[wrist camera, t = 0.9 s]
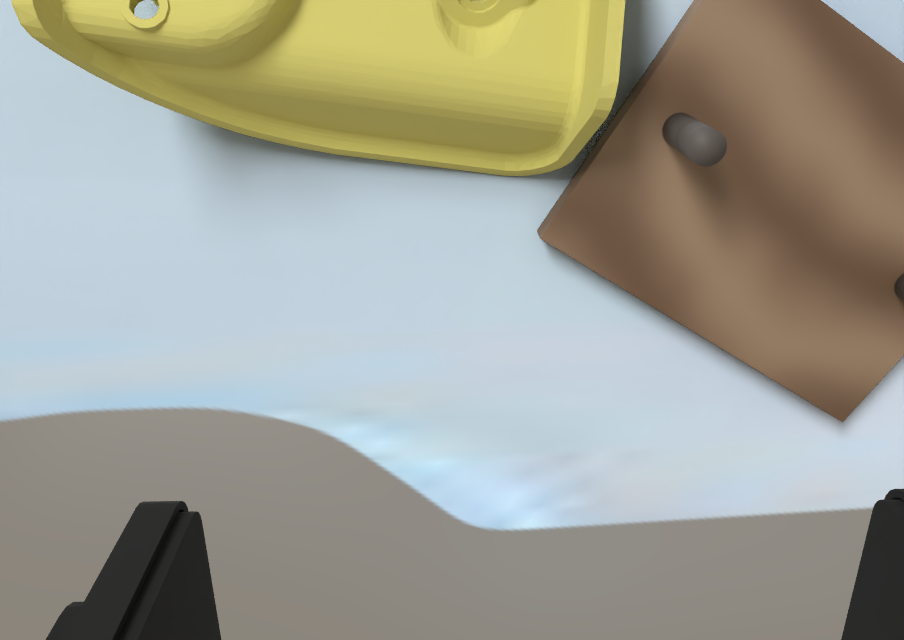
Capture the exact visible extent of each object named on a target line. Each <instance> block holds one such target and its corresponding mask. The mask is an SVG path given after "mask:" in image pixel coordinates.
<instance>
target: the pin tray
mask: <svg viewBox="0 0 904 640" xmlns="http://www.w3.org/2000/svg"><path fill="white" fill-rule="evenodd" d="M537 232H538V234H539V237H540V239H542V240H544V241H545V242H547V243H549V244H550V245H552V246H554V247H555V248H557V249H559V250H560V251H562V252H563V253H565V254H567V255H568V256H570V257H572V258H573V259H575V260H577V261H578V262H580V263H582V264H583V265H585V266H587V267H588V268H590V269H591V270H593V271H595V272H596V273H598V274H600V275H601V276H603V277H605V278H606V279H608V280H610V281H611V282H613V283H614V284H616V285H618V286H619V287H621V288H623V289H624V290H626V291H628V292H629V293H631V294H633V295H634V296H636V297H638V298H639V299H641V300H642V301H644V302H646V303H647V304H649V305H651V306H652V307H654V308H656V309H657V310H659V311H661V312H662V313H664V314H666V315H667V316H669V317H670V318H672V319H674V320H675V321H677V322H679V323H680V324H682V325H684V326H685V327H687V328H689V329H690V330H692V331H693V332H695V333H697V334H698V335H700V336H702V337H703V338H705V339H707V340H708V341H710V342H712V343H713V344H715V345H717V346H718V347H720V348H721V349H723V350H725V351H726V352H728V353H730V354H731V355H733V356H735V357H736V358H738V359H740V360H741V361H743V362H745V363H746V364H748V365H749V366H751V367H753V368H754V369H756V370H758V371H759V372H761V373H763V374H764V375H766V376H768V377H769V378H771V379H772V380H774V381H776V382H777V383H779V384H781V385H782V386H784V387H786V388H787V389H789V390H791V391H792V392H794V393H796V394H797V395H799V396H800V397H802V398H804V399H805V400H807V401H809V402H810V403H812V404H814V405H815V406H817V407H819V408H820V409H822V410H824V411H825V412H827V413H828V414H830V415H832V416H833V417H835V418H837V419H838V420H840V421H842V422H843V421H844V420H845V419H846V418H847V417H848V416H849V415H850V413H851V412H852V411H853V410H854V409H855V408H856V407H857V406H858V405H859V404H860V403H861V401H862V400H863V399H864V398H865V397H866V396H867V395H868V394H869V393H870V392H871V390H872V389H873V388H874V387H875V386H876V385H877V384H878V383H879V382H880V381H881V380H882V378H883V377H884V376H885V375H886V374H887V373H888V372H889V371H890V370H891V369H892V367H893V366H894V365H895V364H896V363H897V362H898V361H899V360H900V359H901V358H902V357H903V355H904V63H903V62H902V61H900V60H899V59H898V58H896V57H895V56H894V55H892V54H891V53H890V52H888V51H887V50H886V49H884V48H883V47H882V46H881V45H879V44H878V43H877V42H875V41H874V40H873V39H871V38H870V37H869V36H867V35H866V34H865V33H863V32H862V31H861V30H859V29H858V28H857V27H855V26H854V25H853V24H851V23H850V22H849V21H847V20H846V19H845V18H843V17H842V16H841V15H839V14H838V13H837V12H836V11H834V10H833V9H832V8H830V7H829V6H828V5H826V4H825V3H824V2H822V1H821V0H694V1H693V3H692V4H691V6H690V7H689V9H688V10H687V12H686V13H685V14H684V16H683V17H682V19H681V20H680V22H679V23H678V25H677V26H676V28H675V29H674V31H673V32H672V34H671V35H670V36H669V38H668V39H667V41H666V42H665V44H664V45H663V47H662V48H661V50H660V51H659V53H658V54H657V56H656V57H655V58H654V60H653V61H652V63H651V64H650V66H649V67H648V69H647V70H646V72H645V73H644V75H643V76H642V77H641V79H640V80H639V82H638V83H637V85H636V86H635V88H634V89H633V91H632V92H631V94H630V95H629V97H628V98H627V99H626V101H625V102H624V104H623V105H622V107H621V108H620V110H619V111H618V113H617V114H616V116H615V117H614V118H613V120H612V121H611V123H610V124H609V126H608V127H607V129H606V130H605V132H604V133H603V135H602V136H601V138H600V139H599V140H598V142H597V143H596V145H595V146H594V148H593V149H592V151H591V152H590V154H589V155H588V157H587V158H586V159H585V161H584V162H583V164H582V165H581V167H580V168H579V170H578V171H577V173H576V174H575V176H574V177H573V179H572V180H571V181H570V183H569V184H568V186H567V187H566V189H565V190H564V192H563V193H562V195H561V196H560V198H559V199H558V200H557V202H556V203H555V205H554V206H553V208H552V209H551V211H550V212H549V214H548V215H547V217H546V218H545V220H544V221H543V222H542V224H541V225H540V227H539V228H538V230H537Z"/></svg>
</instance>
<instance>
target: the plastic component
mask: <svg viewBox="0 0 904 640" xmlns="http://www.w3.org/2000/svg"><path fill="white" fill-rule="evenodd" d="M11 1H12V5H13V8H14V10H15V12H16V14H17V17H18V19H19V21H20V24H21V25H22V26H23V27H24V29H25V30H26V31H27V32H28V33H29V34H30V35H31V36H32V37H33V38H35V39H36V40H37V41H39V42H40V43H42V44H43V45H45V46H46V47H48V48H49V49H51V50H52V51H54V52H55V53H57V54H59V55H60V56H62V57H63V58H65V59H67V60H69V61H70V62H72V63H74V64H76V65H77V66H79V67H81V68H82V69H84V70H86V71H88V72H89V73H91V74H93V75H95V76H97V77H99V78H101V79H103V80H105V81H107V82H109V83H111V84H113V85H115V86H117V87H119V88H121V89H124V90H126V91H128V92H130V93H132V94H135V95H137V96H139V97H141V98H144V99H146V100H148V101H151V102H153V103H156V104H158V105H160V106H163V107H165V108H168V109H170V110H173V111H175V112H178V113H181V114H183V115H186V116H189V117H192V118H194V119H197V120H200V121H202V122H205V123H208V124H212V125H215V126H218V127H221V128H224V129H228V130H231V131H234V132H237V133H240V134H244V135H248V136H252V137H256V138H260V139H263V140H267V141H271V142H275V143H280V144H284V145H289V146H294V147H298V148H303V149H309V150H314V151H320V152H325V153H331V154H337V155H345V156H353V157H361V158H369V159H377V160H385V161H392V162H400V163H408V164H416V165H424V166H432V167H440V168H448V169H456V170H464V171H472V172H479V173H487V174H495V175H503V176H527V175H537V174H542V173H547V172H551V171H554V170H557V169H559V168H562V167H564V166H566V165H567V164H569V163H570V162H572V161H573V159H574V158H575V157H576V156H577V154H578V153H579V152H580V151H581V149H582V148H583V147H584V146H585V145H586V143H587V142H588V141H589V140H590V138H591V137H592V136H593V135H594V133H595V132H596V131H597V130H598V128H599V127H600V126H601V125H602V123H603V122H604V121H605V120H606V118H607V117H608V115H609V113H610V111H611V108H612V105H613V103H614V100H615V96H616V91H617V87H618V82H619V71H620V59H621V47H622V35H623V23H624V11H625V0H153V1H154V3H155V5H157V6H159V9H158V12H157V14H156V15H155V16H153V17H152V18H150V19H140V18H138V17H135V16H134V8H135V7H136V5H137V4H138V3H139V2H141V1H143V0H11Z"/></svg>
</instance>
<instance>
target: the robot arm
mask: <svg viewBox="0 0 904 640" xmlns="http://www.w3.org/2000/svg"><path fill="white" fill-rule="evenodd" d="M46 640H221V635H220V630H219V623H218V617H217V611H216V605H215V599H214V593H213V587H212V581H211V574H210V568H209V562H208V556H207V550H206V544H205V537H204V531H203V525H202V520H201V516H200V514H199V513H198V512H188V508H187V506H186V504H185V502H183V501H162V502H161V501H160V502H142V503H140V504H139V505H138V506H137V507H136V509H135V511H134V513H133V514H132V516H131V518H130V520H129V522H128V523H127V525H126V527H125V529H124V531H123V533H122V534H121V536H120V538H119V540H118V542H117V543H116V545H115V547H114V549H113V551H112V552H111V554H110V556H109V558H108V559H107V561H106V563H105V565H104V567H103V569H102V570H101V572H100V574H99V576H98V578H97V579H96V581H95V583H94V585H93V587H92V589H91V590H90V592H89V594H88V596H87V597H86V599H85V601H84V602H73V603H71V604H70V605H68V606H67V607H66V608H65V609H64V611H63V612H62V613H61V615H60V616H59V618H58V620H57V621H56V623H55V625H54V626H53V628H52V630H51V632H50V633H49V635H48V637H47V638H46ZM841 640H904V489H893V490H890V491H889V492H888V494H887V495H886V497H885V499H884V500H879V501H877V502H876V504H875V505H874V508H873V511H872V515H871V520H870V524H869V528H868V532H867V536H866V540H865V544H864V548H863V553H862V557H861V561H860V565H859V569H858V574H857V577H856V581H855V585H854V590H853V594H852V598H851V602H850V607H849V610H848V614H847V618H846V623H845V627H844V631H843V635H842V639H841Z"/></svg>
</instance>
